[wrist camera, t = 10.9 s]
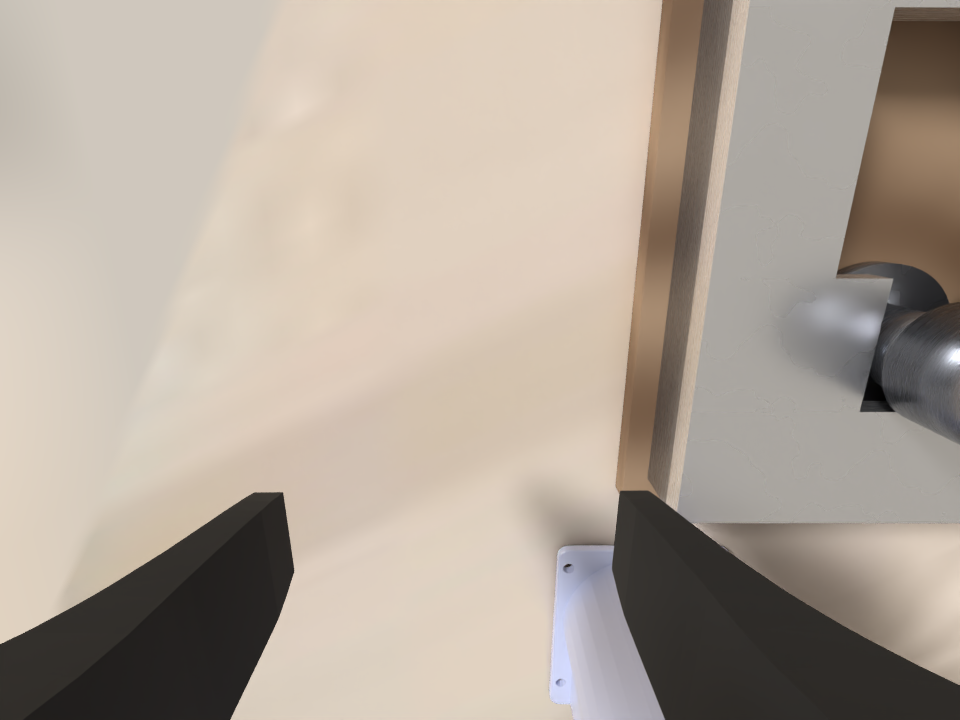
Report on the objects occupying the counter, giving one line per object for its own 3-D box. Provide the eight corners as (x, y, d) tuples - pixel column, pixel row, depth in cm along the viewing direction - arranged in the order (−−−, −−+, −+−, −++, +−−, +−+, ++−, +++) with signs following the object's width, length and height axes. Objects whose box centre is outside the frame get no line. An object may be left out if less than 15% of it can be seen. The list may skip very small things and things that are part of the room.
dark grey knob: (909, 402, 20) (1180, 525, 12) (771, 401, 20) (956, 523, 12) (951, 262, 18) (1295, 302, 10) (800, 260, 18) (1035, 299, 10)
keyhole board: (991, 486, 22) (1014, 498, 21) (615, 485, 22) (621, 498, 21) (1203, -103, 16) (1249, -123, 15) (672, -105, 16) (685, -125, 15)
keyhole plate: (998, 478, 21) (1085, 523, 18) (647, 478, 21) (675, 523, 18) (1201, -82, 15) (1379, -153, 12) (714, -84, 15) (772, -156, 12)
